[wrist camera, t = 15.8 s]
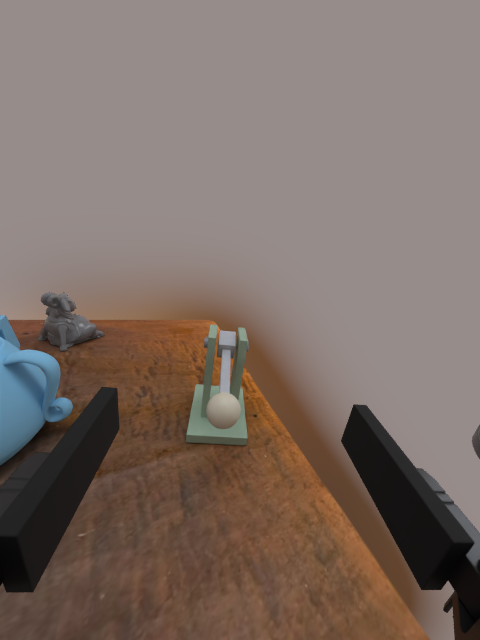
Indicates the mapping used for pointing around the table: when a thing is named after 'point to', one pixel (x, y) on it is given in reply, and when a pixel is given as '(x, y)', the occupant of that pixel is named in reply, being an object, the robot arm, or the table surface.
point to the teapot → (26, 393)
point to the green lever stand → (198, 422)
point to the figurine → (65, 323)
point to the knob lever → (224, 387)
